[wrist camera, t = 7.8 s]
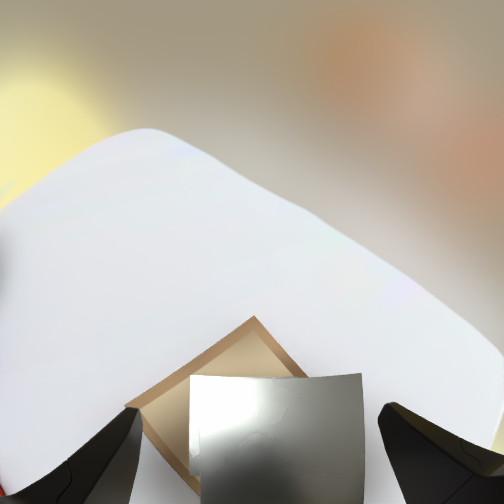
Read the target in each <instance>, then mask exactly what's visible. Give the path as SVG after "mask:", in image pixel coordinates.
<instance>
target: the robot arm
mask: <svg viewBox="0 0 504 504" xmlns="http://www.w3.org/2000/svg"><path fill="white" fill-rule="evenodd" d="M378 425H379V429H380V432H381V436H382V439H383V443H384V446H385V450H386V453H387V455H388V458H389V460H390V463H391V465H392V468H393V470H394V473H395V476H396V478H397V481H398V483H399V486H400V488H401V491H402V494H403V496H404V499H405V502H406V504H504V455H502V454H499V453H496V452H493V451H490V450H487V449H485V448H482V447H480V446H477V445H475V444H472V443H470V442H468V441H466V440H464V439H462V438H459V437H458V436H456V435H454V434H452V433H451V432H449V431H447V430H445V429H443V428H441V427H439V426H437V425H435V424H434V423H432V422H430V421H428V420H426V419H424V418H423V417H421V416H419V415H417V414H415V413H414V412H412V411H410V410H408V409H407V408H405V407H403V406H401V405H400V404H398V403H396V402H390V403H386V404H385V405H384V406H383V408H382V410H381V412H380V414H379V416H378ZM142 431H143V422H142V417H141V413H140V410H139V408H135V407H126V408H125V409H124V410H123V411H122V412H121V413H120V414H119V415H117V416H116V417H115V418H114V419H113V420H112V421H111V422H109V423H108V424H107V425H106V426H105V427H104V428H103V429H102V430H100V431H99V432H98V433H97V434H96V435H95V436H94V437H92V438H91V439H90V440H89V441H88V442H87V443H85V444H84V445H83V446H82V447H81V448H80V449H78V450H77V451H76V452H75V453H74V454H73V455H71V456H70V457H69V458H68V459H67V460H65V461H64V462H63V463H62V464H61V465H59V466H58V467H57V468H56V469H54V470H53V471H52V472H50V473H49V474H47V475H46V476H44V477H43V478H41V479H40V480H38V481H36V482H35V483H33V484H31V485H29V486H28V487H26V488H24V489H23V490H21V491H19V492H17V493H15V494H12V495H9V496H0V504H129V501H130V496H131V492H132V488H133V484H134V480H135V476H136V472H137V468H138V463H139V455H140V447H141V439H142Z"/></svg>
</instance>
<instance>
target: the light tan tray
mask: <svg viewBox="0 0 504 504" xmlns="http://www.w3.org/2000/svg"><path fill="white" fill-rule="evenodd" d="M191 375H201V376H219V377H298V378H309V377H308V376H307V375H306V374H305V373H304V372H303V371H302V370H301V368H300V367H299V366H298V365H297V364H296V363H295V362H294V361H293V360H292V358H291V357H290V356H289V355H288V354H287V353H286V352H285V351H284V349H283V348H282V347H281V346H280V345H279V344H278V343H277V341H276V340H275V339H274V338H273V337H272V336H271V335H270V333H269V332H268V331H267V330H266V329H265V328H264V326H263V325H262V324H261V323H260V322H259V321H258V319H257V318H256V317H255V316H253V317H251V318H250V319H249V320H247V321H246V322H245V323H243V324H242V325H241V326H239V327H238V328H237V329H235V330H234V331H232V332H231V333H230V334H228V335H227V336H226V337H224V338H223V339H221V340H220V341H219V342H217V343H216V344H215V345H213V346H212V347H210V348H209V349H208V350H206V351H205V352H203V353H202V354H200V355H199V356H198V357H196V358H195V359H193V360H192V361H190V362H189V363H188V364H186V365H185V366H183V367H182V368H180V369H179V370H177V371H176V372H174V373H173V374H171V375H170V376H168V377H167V378H165V379H164V380H162V381H161V382H159V383H158V384H156V385H155V386H153V387H152V388H150V389H149V390H147V391H146V392H144V393H143V394H141V395H140V396H138V397H137V398H135V399H133V400H132V401H130V402H129V403H127V404H126V405H124V406H125V407H135V408H139V410H140V413H141V417H142V422H143V432H144V434H145V435H146V436H147V438H148V439H149V440H150V441H151V443H152V444H153V445H154V446H155V448H156V449H157V450H158V451H159V453H160V454H161V455H162V456H163V457H164V459H165V460H166V461H167V462H168V463H169V464H170V465H171V467H172V468H173V469H174V470H175V471H176V472H177V473H178V474H179V475H180V477H181V478H182V479H183V480H184V481H185V482H186V483H187V484H188V485H189V486H190V487H191V488H192V489H193V490H194V491H195V492H196V493H197V494H198V495H199V496H200V497H201V493H200V476H190V464H189V423H190V382H191Z"/></svg>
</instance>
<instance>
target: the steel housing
mask: <svg viewBox="0 0 504 504" xmlns="http://www.w3.org/2000/svg"><path fill="white" fill-rule="evenodd" d="M189 464H190V476H200V493H201V504H363V501H364V478H365V428H364V404H363V388H362V374H361V373H357V374H348V375H337V376H325V377H311V378H298V377H219V376H201V375H191V382H190V423H189Z"/></svg>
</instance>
